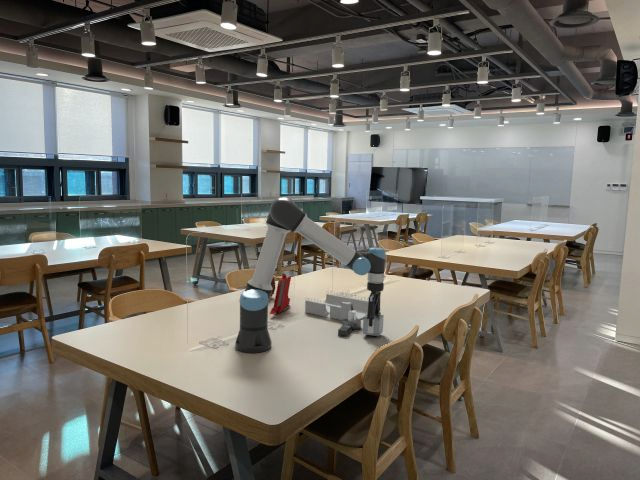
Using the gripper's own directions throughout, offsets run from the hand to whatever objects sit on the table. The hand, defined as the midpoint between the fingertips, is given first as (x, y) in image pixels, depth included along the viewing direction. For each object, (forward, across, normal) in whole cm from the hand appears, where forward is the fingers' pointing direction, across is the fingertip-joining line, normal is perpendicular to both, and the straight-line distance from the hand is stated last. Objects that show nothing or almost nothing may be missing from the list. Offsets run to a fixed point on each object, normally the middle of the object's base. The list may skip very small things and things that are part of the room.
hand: (372, 330), depth 219 cm
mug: (+4, +39, +77) cm, 86 cm away
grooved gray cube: (+1, 0, 0) cm, 1 cm away
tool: (+7, +16, +55) cm, 58 cm away
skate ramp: (+3, +27, +26) cm, 38 cm away
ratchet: (+3, +8, +13) cm, 15 cm away
